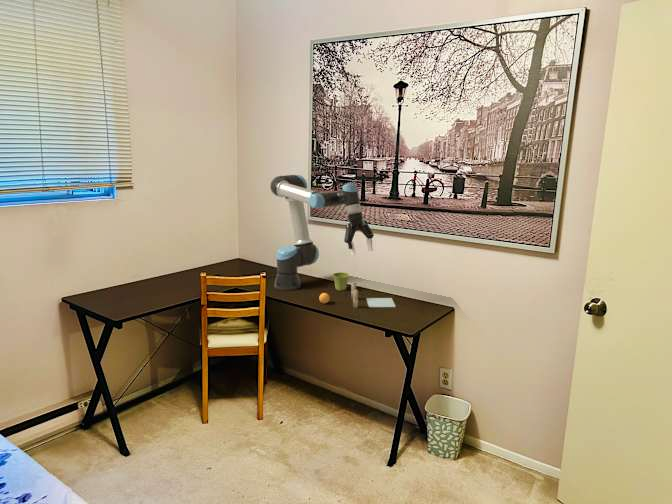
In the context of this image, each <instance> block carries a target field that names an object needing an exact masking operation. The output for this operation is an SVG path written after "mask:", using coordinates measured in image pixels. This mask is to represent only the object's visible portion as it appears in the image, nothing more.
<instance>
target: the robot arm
mask: <svg viewBox="0 0 672 504" xmlns="http://www.w3.org/2000/svg"><path fill="white" fill-rule="evenodd" d="M269 187H270V191H271V193H272V194H273V195H275V196H276V197H279V198H285V200H286V201H287V202H288V206H289V211H290V218H291V224H292V228H293V229H292V230H293V234H294V239H295V242H294V244H293V245H285V246H282V247H279V248H278V249H277V250H276V273H277V274H276V277H275V280H274V284H273V285H274V286H273V287H274V289H277V290H278V291H294V290H298V289H299V288H301V281H300V277H299V274H298V268H301V267H305V266H310V265H313V264H315V263H316V262H317V261H318V259H319V256H320V255H319V254H320V253H319V248H318V247H317V245H316V244H314V242H313V240H311V239H310V234H309V228H308V223H307V222H308V221H307V216H306V209H305V204H307V205H309V206H310V207H311V208H312V209H321V208H322V209H323V208H328V207H332V208H333V207H339V206H342V205H345V208H346V213H347V219H348V222H349V223H346V224H345V234H344V243H346V244H347V245H348V250H349V253H350V256H355V255H356V250H355V245H354V242H353V239H354V237H355V233H356V232H359V231H360V232H361V233H362V235H364V237H366V239H365V240H366V246H367V251H368V252H372V251H374V249H373V247H374V246H373V240H372V239H373V238H374V236H375V235H374V233H373V231H372V230H371V228H370V226H369V223H368V221H367V220H363V218H364V216H363V212H361V211H362V207H361V202H360V195H359V190H358V186H357V184H356V183H354V182H352V183H345V184H344V185H343V186H342V189H341V190H338V191H330V192H329V191H328V192H319V191H316V190H312V189H309V188H308V183H307V180H306V179H305V177H303V176H302V175H301V174H288V175H279V176H278V175H277V176H276V177H275V178H273V179H272V180H271V182H270V186H269Z"/></svg>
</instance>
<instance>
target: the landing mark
mask: <svg viewBox="0 0 672 504" xmlns="http://www.w3.org/2000/svg"><path fill="white" fill-rule="evenodd" d="M365 298H366V299H365V300H366V303H367V306H368V308H396V304H395V302H394V300H393V298H392V297H365Z"/></svg>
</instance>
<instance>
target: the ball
mask: <svg viewBox="0 0 672 504" xmlns="http://www.w3.org/2000/svg"><path fill="white" fill-rule="evenodd" d="M318 298H319V299H318V300H319V302H320V303H322V304H327V303H328V302H329V301H330V295H329V293H326V292H322V293H321V294H320V295H319V297H318Z"/></svg>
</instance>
